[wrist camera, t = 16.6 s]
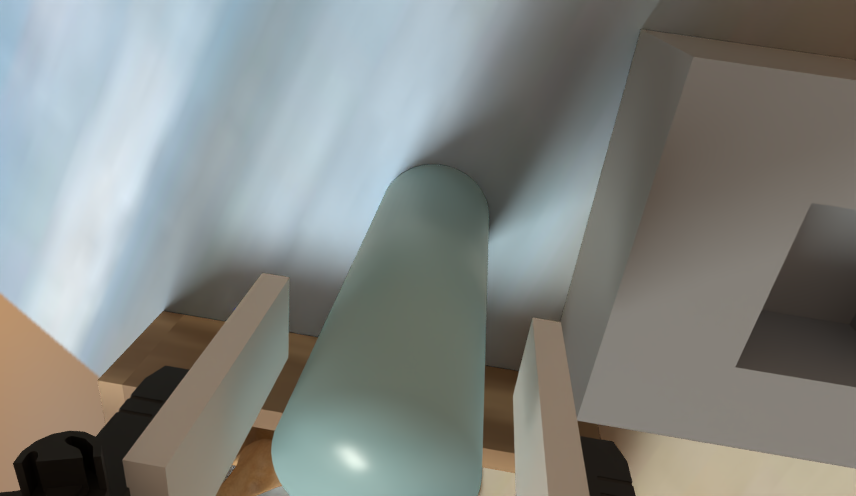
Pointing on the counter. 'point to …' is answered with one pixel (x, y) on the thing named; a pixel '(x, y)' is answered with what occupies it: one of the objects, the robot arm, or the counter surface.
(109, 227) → the counter surface
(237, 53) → the counter surface
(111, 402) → the wooden tray
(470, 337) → the cartridge
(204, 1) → the counter surface
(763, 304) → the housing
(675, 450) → the counter surface
